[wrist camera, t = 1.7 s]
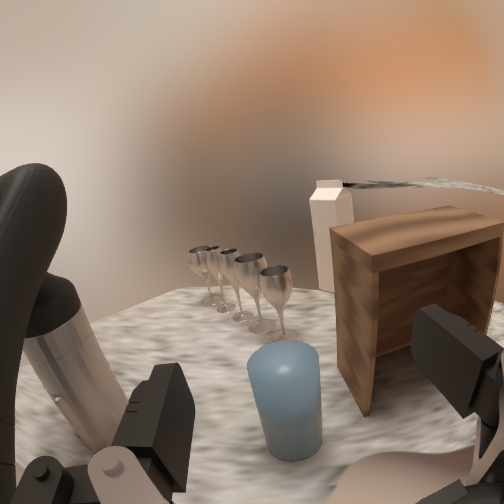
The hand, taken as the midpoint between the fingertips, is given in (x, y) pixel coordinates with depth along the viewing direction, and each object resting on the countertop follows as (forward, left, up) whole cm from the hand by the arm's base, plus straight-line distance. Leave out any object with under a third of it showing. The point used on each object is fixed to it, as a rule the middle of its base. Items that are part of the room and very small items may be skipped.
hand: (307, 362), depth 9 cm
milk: (+46, +15, -22) cm, 54 cm away
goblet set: (+31, +29, -22) cm, 48 cm away
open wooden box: (+24, -3, -22) cm, 33 cm away
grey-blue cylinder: (+9, +7, -22) cm, 25 cm away
